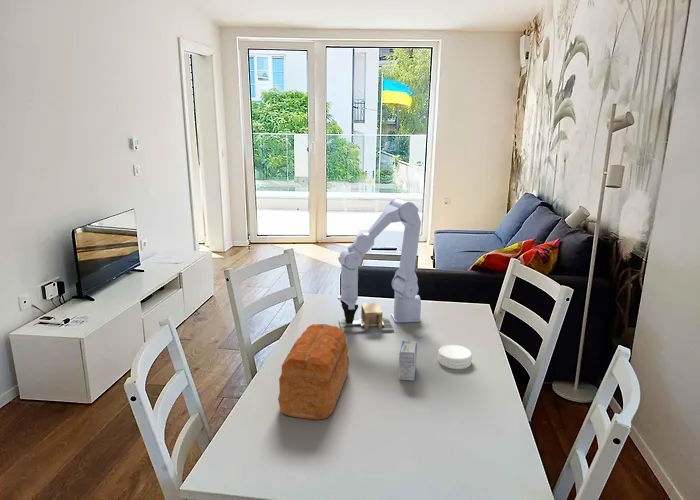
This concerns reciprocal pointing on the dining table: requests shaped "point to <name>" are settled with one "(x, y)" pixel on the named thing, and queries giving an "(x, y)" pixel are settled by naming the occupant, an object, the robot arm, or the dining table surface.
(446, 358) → the coaster
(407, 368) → the medicine box
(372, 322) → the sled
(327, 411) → the bread
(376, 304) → the track
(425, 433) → the dining table surface
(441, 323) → the dining table surface
